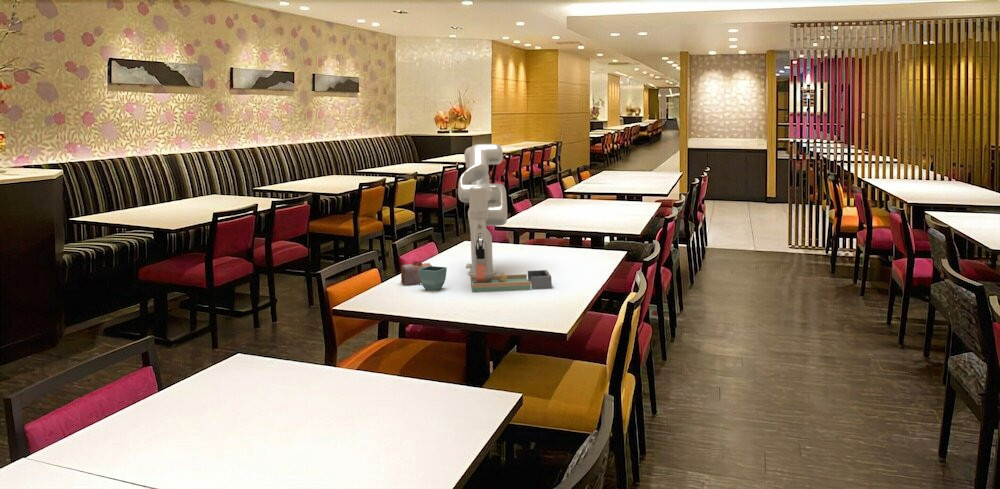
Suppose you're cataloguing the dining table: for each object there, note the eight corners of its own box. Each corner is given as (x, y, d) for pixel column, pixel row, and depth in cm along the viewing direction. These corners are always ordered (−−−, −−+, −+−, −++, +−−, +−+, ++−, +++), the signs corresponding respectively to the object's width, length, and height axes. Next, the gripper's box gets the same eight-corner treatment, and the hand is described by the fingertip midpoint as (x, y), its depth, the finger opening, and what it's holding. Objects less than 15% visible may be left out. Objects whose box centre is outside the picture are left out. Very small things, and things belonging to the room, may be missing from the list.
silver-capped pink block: (474, 284, 314) (473, 265, 312) (473, 282, 318) (473, 263, 317) (491, 284, 314) (491, 265, 313) (491, 281, 319) (490, 263, 317)
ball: (495, 283, 316) (495, 273, 316) (501, 281, 320) (501, 271, 319) (503, 284, 314) (503, 274, 313) (509, 282, 317) (508, 272, 317)
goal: (531, 289, 311) (531, 277, 311) (528, 282, 325) (527, 270, 324) (551, 288, 312) (551, 276, 311) (546, 281, 325) (546, 269, 324)
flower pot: (448, 287, 318) (447, 266, 317) (437, 292, 310) (436, 271, 309) (429, 286, 322) (429, 265, 320) (419, 290, 314) (418, 269, 313)
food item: (429, 279, 335) (428, 257, 334) (435, 283, 328) (434, 260, 326) (400, 283, 330) (399, 261, 328) (405, 286, 323) (404, 264, 321)
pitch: (472, 292, 309) (472, 284, 308) (470, 284, 324) (470, 276, 323) (530, 289, 311) (530, 281, 310) (526, 281, 325) (526, 274, 325)
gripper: (489, 217, 303) (490, 259, 305) (486, 213, 320) (487, 253, 322) (470, 218, 302) (471, 260, 305) (468, 214, 319) (470, 254, 322)
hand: (480, 256), depth 314 cm, fingers open, 9 cm apart
